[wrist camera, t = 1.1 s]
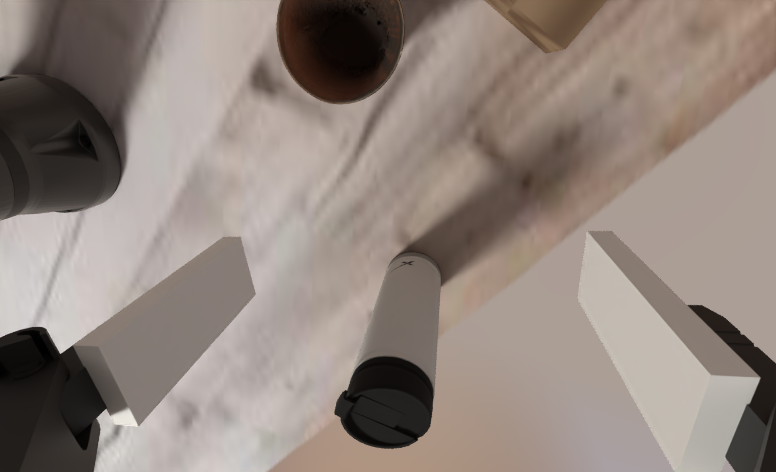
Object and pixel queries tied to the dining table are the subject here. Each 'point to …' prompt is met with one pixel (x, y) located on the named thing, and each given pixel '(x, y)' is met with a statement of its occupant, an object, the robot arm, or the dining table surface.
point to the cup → (340, 45)
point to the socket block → (548, 19)
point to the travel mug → (396, 358)
